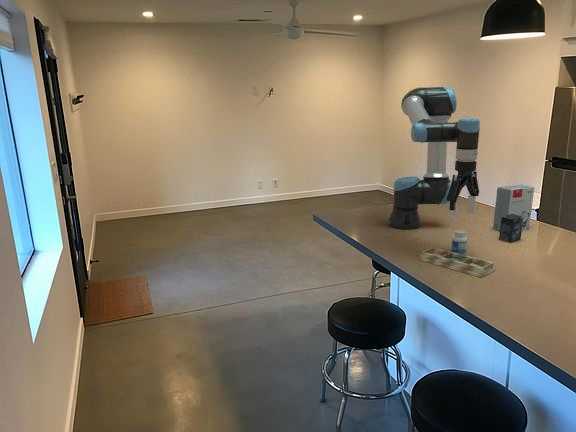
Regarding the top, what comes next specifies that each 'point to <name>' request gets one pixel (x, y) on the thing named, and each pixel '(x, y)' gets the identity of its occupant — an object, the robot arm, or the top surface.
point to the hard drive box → (513, 204)
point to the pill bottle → (459, 242)
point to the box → (511, 228)
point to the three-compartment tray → (457, 262)
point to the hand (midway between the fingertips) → (461, 215)
